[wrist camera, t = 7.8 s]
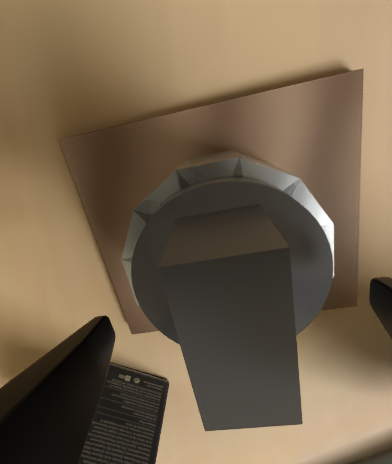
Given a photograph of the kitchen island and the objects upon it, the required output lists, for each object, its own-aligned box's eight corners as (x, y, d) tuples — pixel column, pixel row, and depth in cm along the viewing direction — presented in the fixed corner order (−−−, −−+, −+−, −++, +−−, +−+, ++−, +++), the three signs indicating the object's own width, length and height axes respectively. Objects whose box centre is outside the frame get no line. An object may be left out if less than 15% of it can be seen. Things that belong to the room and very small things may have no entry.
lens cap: (292, 152, 12) (419, 180, 5) (300, 289, 15) (388, 438, 8) (135, 183, 13) (42, 246, 6) (171, 307, 16) (138, 454, 9)
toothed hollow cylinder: (293, 136, 13) (333, 137, 9) (302, 283, 16) (334, 334, 12) (128, 171, 14) (95, 186, 10) (167, 302, 17) (154, 355, 13)
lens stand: (354, 72, 13) (363, 68, 12) (349, 298, 18) (356, 305, 17) (66, 139, 15) (58, 139, 14) (134, 326, 19) (131, 334, 19)
